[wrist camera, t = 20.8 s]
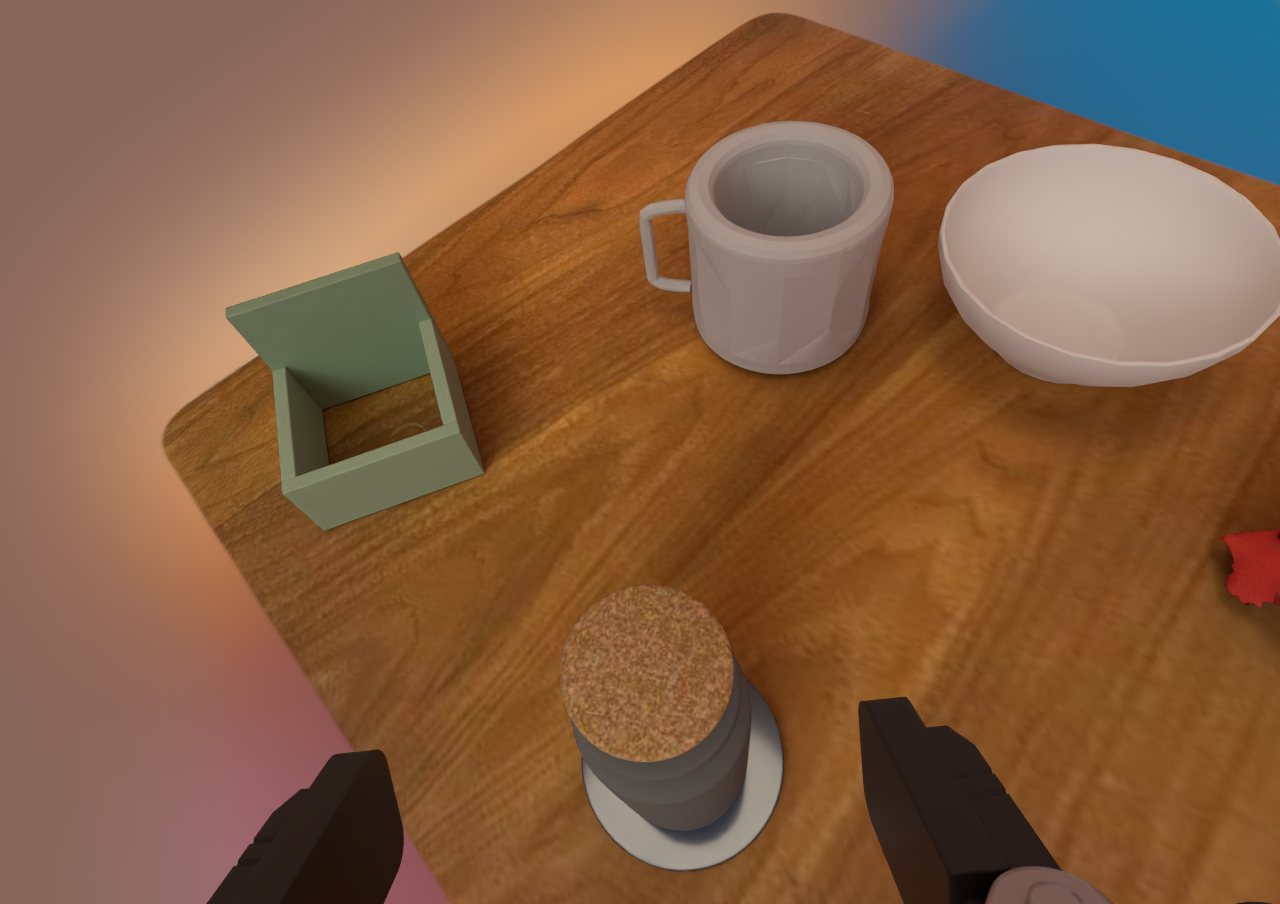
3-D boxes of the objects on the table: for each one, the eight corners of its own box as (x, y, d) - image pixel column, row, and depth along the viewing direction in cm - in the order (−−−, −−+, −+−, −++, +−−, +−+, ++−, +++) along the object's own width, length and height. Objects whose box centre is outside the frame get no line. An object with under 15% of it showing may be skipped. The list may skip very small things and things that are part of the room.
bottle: (660, 666, 34) (616, 530, 21) (771, 736, 32) (795, 631, 19) (589, 779, 32) (493, 702, 19) (703, 863, 30) (680, 838, 17)
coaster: (619, 906, 30) (617, 906, 29) (560, 696, 34) (558, 693, 34) (819, 823, 30) (820, 822, 30) (734, 629, 35) (734, 625, 35)
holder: (323, 531, 41) (229, 447, 33) (309, 405, 46) (224, 307, 38) (485, 474, 42) (429, 379, 34) (453, 356, 47) (398, 251, 39)
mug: (862, 251, 47) (890, 112, 39) (869, 382, 42) (904, 252, 33) (660, 251, 50) (644, 119, 41) (641, 375, 44) (619, 252, 36)
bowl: (1065, 500, 37) (1128, 424, 31) (856, 314, 45) (875, 225, 39) (1276, 355, 40) (1371, 261, 34) (1046, 205, 48) (1090, 107, 42)
